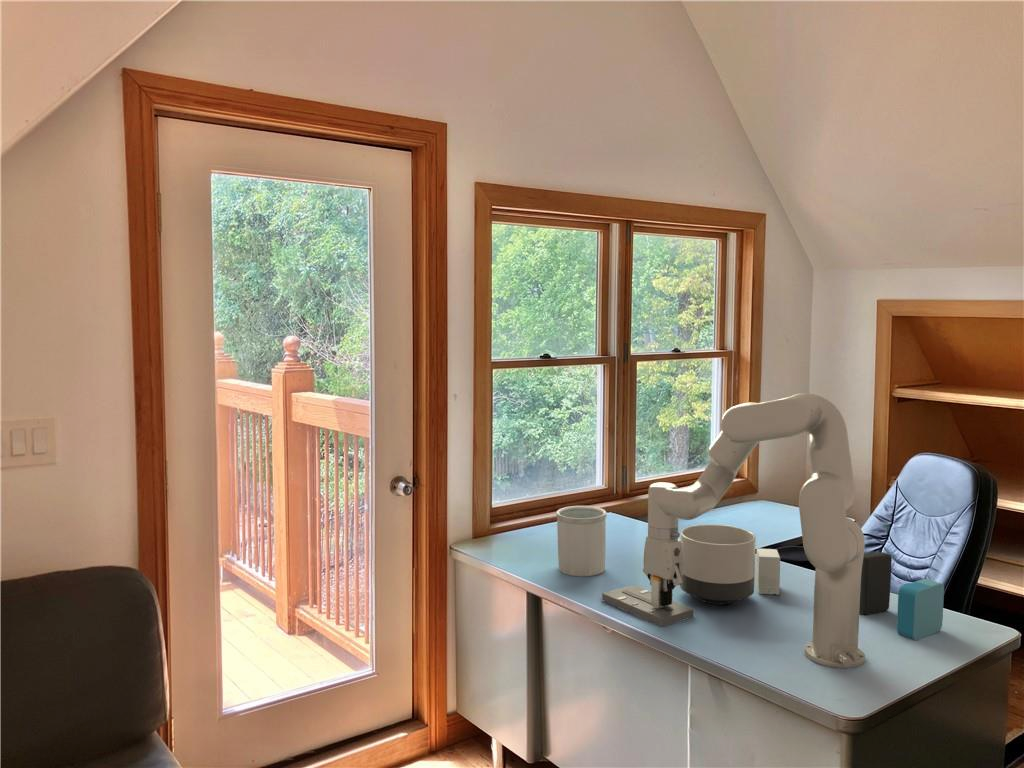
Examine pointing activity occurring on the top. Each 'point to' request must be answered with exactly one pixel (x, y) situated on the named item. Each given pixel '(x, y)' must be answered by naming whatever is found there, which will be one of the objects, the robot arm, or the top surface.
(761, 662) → the top surface
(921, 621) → the data package
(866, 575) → the card reader
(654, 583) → the fader tab
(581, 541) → the utensil holder
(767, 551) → the small box
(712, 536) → the planter
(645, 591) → the console board
